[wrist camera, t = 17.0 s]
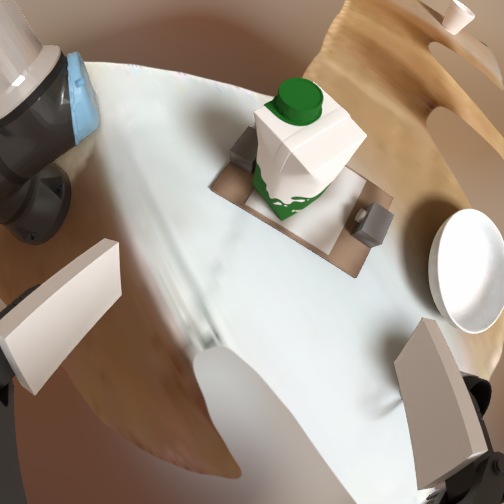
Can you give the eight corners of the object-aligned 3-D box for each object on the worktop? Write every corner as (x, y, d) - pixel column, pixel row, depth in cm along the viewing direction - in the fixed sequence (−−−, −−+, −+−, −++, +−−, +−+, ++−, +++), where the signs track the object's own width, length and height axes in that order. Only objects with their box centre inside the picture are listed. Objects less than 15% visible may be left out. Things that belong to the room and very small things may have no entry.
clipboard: (211, 190, 42) (208, 178, 37) (262, 121, 44) (265, 103, 39) (354, 278, 41) (367, 275, 36) (390, 199, 43) (405, 189, 38)
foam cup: (433, 19, 55) (448, -3, 42) (444, 20, 56) (458, 0, 43) (453, 37, 54) (469, 16, 41) (462, 37, 55) (478, 18, 42)
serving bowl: (492, 243, 43) (514, 238, 36) (472, 342, 40) (496, 345, 33) (426, 198, 43) (448, 186, 37) (398, 311, 40) (422, 312, 34)
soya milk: (288, 152, 42) (318, 62, 22) (326, 197, 41) (385, 127, 21) (242, 183, 41) (243, 96, 21) (281, 231, 40) (317, 174, 20)
